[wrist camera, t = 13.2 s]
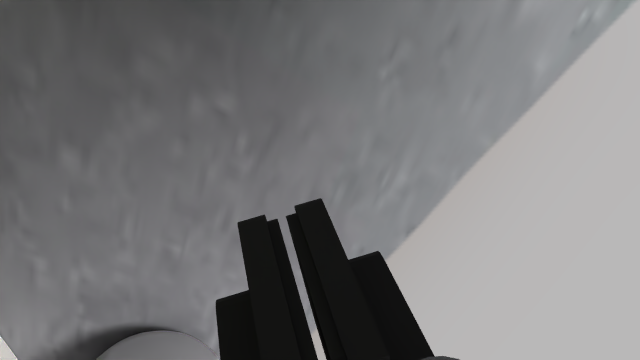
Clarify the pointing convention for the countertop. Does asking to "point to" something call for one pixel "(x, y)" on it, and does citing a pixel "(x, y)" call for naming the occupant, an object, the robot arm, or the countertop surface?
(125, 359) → the plastic bottle
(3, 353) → the breaker panel
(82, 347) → the countertop surface
